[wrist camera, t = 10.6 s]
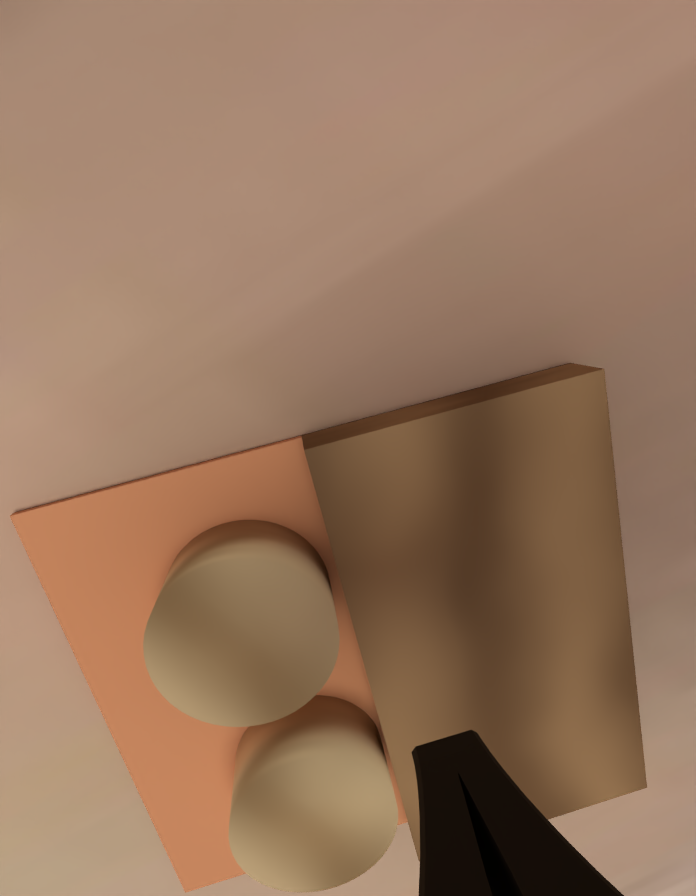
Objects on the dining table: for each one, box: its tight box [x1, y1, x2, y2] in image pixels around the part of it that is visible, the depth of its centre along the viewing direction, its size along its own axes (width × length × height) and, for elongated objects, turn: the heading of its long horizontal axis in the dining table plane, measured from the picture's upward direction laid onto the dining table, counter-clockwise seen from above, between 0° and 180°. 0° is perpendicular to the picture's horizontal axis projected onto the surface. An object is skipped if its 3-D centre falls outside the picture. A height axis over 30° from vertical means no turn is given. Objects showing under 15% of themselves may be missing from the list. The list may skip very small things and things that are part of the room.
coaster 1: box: [143, 520, 340, 727], centre depth 17 cm, size 6×6×3 cm
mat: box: [10, 436, 408, 893], centre depth 20 cm, size 10×18×1 cm, turn 14°
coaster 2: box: [229, 695, 398, 892], centre depth 20 cm, size 6×6×3 cm
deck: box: [301, 363, 647, 861], centre depth 20 cm, size 10×18×2 cm, turn 14°
